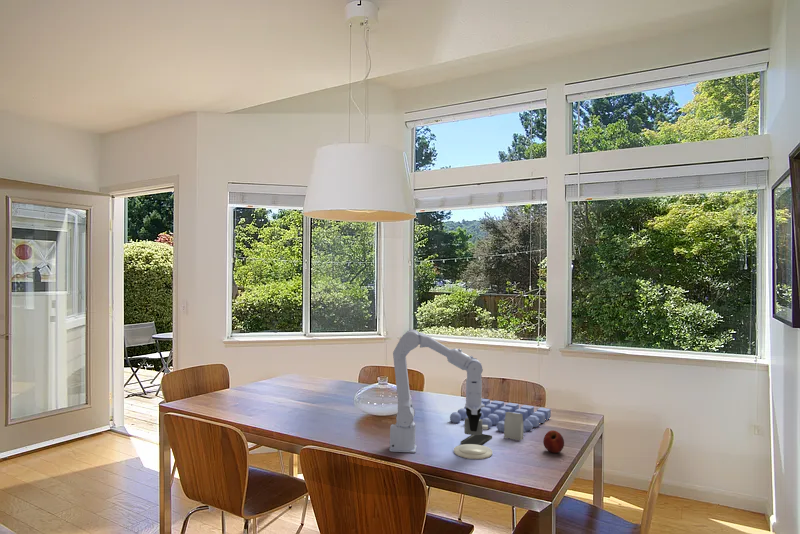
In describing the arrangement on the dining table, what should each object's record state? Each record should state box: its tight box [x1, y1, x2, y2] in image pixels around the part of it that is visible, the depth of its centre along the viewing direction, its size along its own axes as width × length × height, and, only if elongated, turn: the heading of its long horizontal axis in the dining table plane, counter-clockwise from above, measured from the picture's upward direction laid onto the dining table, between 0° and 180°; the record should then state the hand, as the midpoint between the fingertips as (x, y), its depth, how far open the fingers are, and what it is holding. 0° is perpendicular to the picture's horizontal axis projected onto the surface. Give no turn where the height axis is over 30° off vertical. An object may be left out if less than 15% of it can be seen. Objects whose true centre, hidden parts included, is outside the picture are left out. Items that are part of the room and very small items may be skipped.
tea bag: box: [503, 412, 524, 441], centre depth 207 cm, size 4×7×10 cm, turn 61°
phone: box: [460, 433, 493, 446], centre depth 203 cm, size 8×1×15 cm
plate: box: [453, 444, 493, 460], centre depth 189 cm, size 14×14×1 cm
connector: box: [464, 418, 489, 436], centre depth 189 cm, size 8×4×5 cm, turn 84°
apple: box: [542, 430, 565, 454], centre depth 191 cm, size 7×8×8 cm
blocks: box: [449, 397, 552, 434], centre depth 233 cm, size 35×34×5 cm
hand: (473, 429), depth 189 cm, fingers closed on connector, 3 cm apart
